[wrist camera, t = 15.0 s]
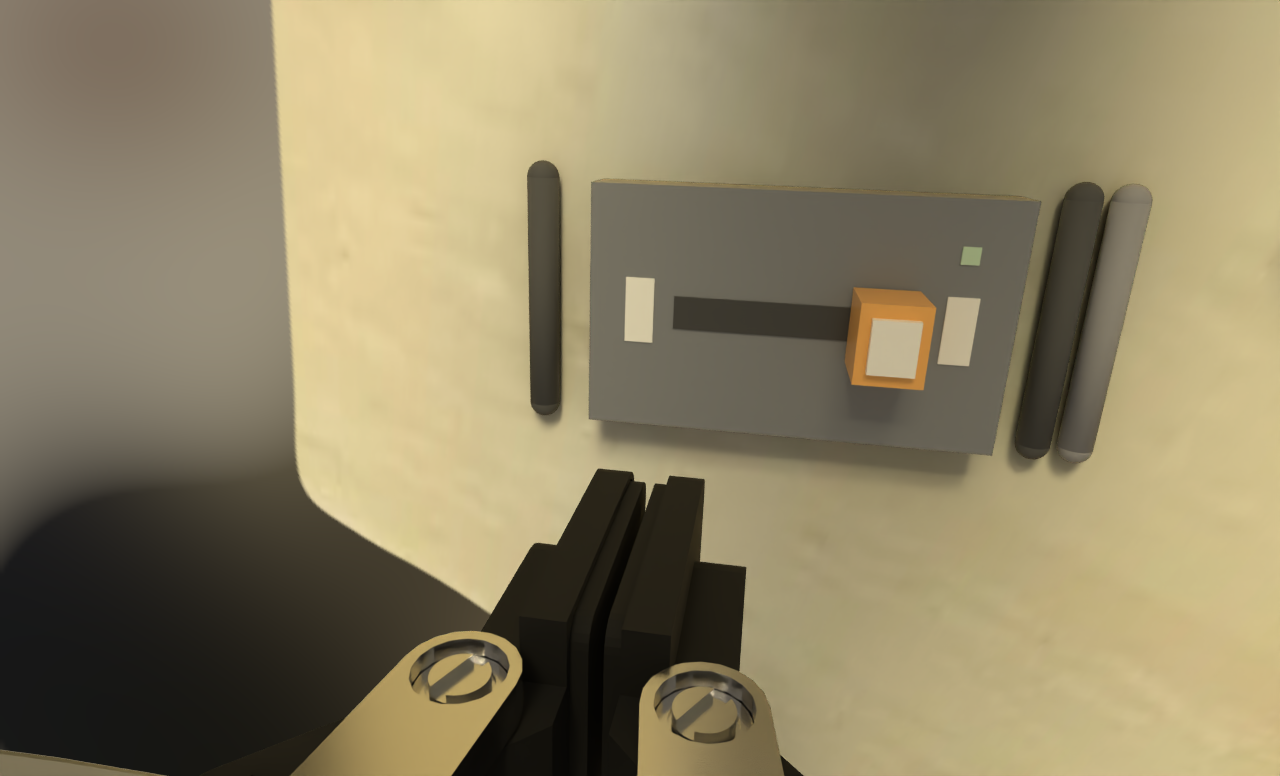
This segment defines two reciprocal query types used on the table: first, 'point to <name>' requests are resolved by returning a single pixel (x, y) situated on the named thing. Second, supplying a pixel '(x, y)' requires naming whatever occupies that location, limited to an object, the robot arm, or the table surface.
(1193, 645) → the table surface
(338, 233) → the table surface
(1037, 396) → the grey capsule
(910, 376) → the block
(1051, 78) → the table surface
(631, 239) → the slider switch box
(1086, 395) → the light grey rod
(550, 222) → the dark grey rounded rod
